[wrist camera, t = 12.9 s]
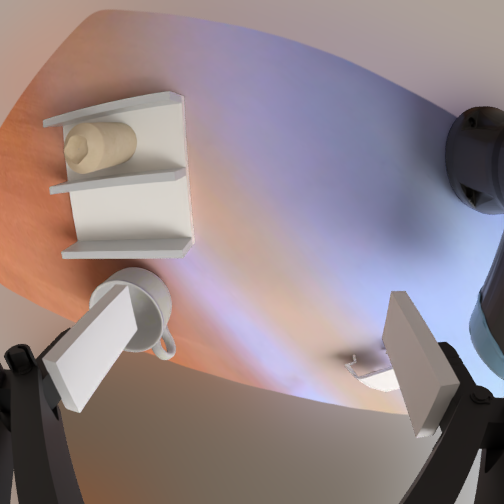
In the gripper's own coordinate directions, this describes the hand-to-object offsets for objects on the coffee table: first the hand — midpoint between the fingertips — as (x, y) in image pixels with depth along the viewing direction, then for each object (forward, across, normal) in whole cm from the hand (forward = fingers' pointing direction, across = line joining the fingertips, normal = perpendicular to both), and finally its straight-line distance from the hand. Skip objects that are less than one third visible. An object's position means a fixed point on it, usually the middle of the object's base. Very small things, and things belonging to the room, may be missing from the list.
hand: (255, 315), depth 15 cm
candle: (+24, +20, -9) cm, 32 cm away
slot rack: (+25, +20, -4) cm, 32 cm away
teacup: (+26, +19, +14) cm, 35 cm away
